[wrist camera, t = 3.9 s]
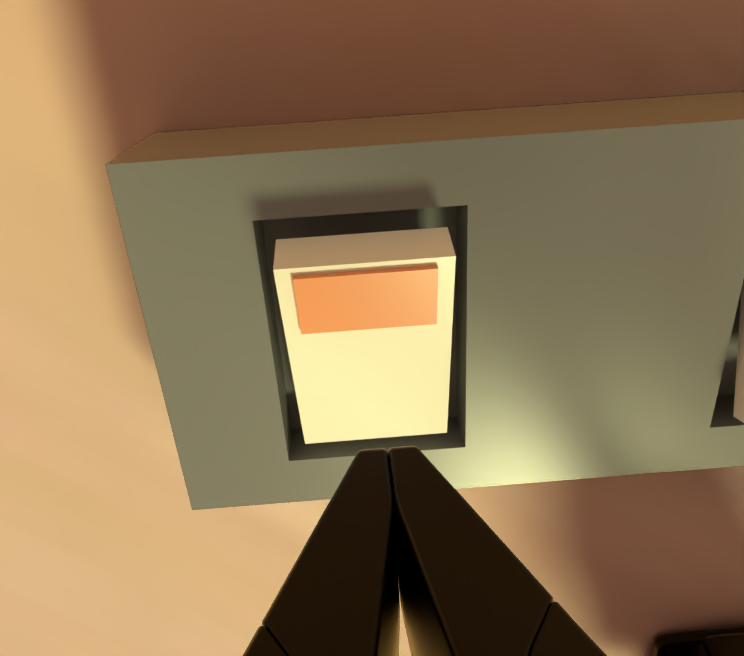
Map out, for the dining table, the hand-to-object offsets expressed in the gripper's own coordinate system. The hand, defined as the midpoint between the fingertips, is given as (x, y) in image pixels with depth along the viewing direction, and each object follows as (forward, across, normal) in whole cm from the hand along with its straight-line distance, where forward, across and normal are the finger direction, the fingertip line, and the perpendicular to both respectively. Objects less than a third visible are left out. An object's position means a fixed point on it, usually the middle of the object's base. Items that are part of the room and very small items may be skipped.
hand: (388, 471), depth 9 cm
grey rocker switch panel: (+11, -6, +2) cm, 13 cm away
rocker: (+7, 0, +2) cm, 7 cm away
